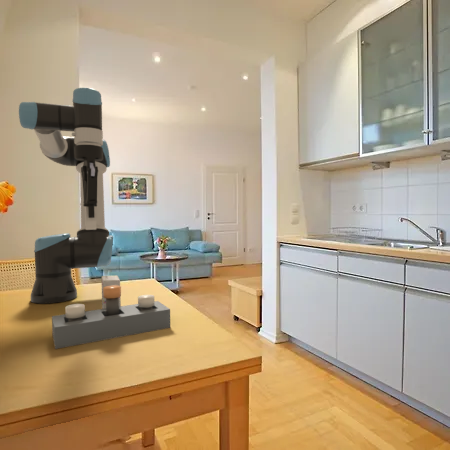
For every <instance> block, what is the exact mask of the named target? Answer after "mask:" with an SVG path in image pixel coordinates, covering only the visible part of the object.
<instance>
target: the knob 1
mask: <svg viewBox="0 0 450 450" xmlns="http://www.w3.org/2000/svg"><path fill="white" fill-rule="evenodd" d="M85 311H86V307H85V304H83V303H72V304H69V305H66V306H65V314H66V318H68V321H69V322H73V321H79V320H82V317H83V316H84V315H85Z"/></svg>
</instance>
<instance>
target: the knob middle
mask: <svg viewBox="0 0 450 450" xmlns="http://www.w3.org/2000/svg"><path fill="white" fill-rule="evenodd" d="M103 297H104V298H106V316H112V315H118V314H119V297H120V298H121V297H122V286H121V285H120V286H118V285H112V286H106V287H103Z"/></svg>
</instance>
